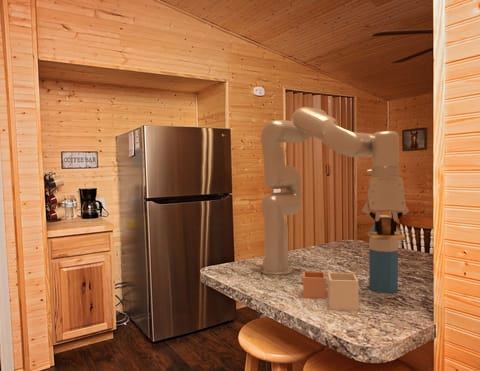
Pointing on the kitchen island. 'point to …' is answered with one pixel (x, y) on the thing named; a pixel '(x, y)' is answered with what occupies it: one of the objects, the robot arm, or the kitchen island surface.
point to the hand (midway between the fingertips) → (385, 233)
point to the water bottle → (383, 264)
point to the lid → (386, 231)
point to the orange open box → (314, 285)
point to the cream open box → (343, 291)
